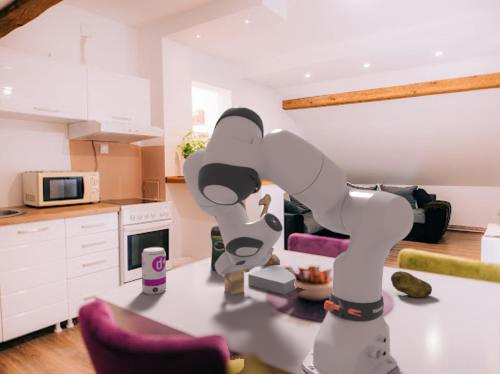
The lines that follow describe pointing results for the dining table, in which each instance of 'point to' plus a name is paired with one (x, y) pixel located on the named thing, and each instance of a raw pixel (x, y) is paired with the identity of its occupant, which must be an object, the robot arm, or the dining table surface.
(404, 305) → the dining table surface
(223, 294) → the dining table surface
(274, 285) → the grey stand
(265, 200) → the bird sculpture
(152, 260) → the supplement can
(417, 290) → the potato
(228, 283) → the oak block
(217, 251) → the coffee jar
